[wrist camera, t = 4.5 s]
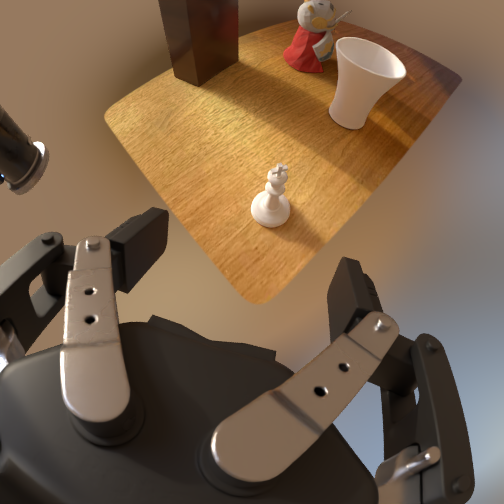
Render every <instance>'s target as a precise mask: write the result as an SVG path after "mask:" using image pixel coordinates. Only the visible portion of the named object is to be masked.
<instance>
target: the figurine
mask: <svg viewBox="0 0 504 504" xmlns="http://www.w3.org/2000/svg"><path fill="white" fill-rule="evenodd" d="M304 1H305V3H304V4H302V5H301V6H300V8H299V10H298V17H297V18H298V21H299V24H300V26H299V28H298V30H297V32H296V34H295V36H294V39H293V42H292V45H291V46H290V47H288V48H286V49H285V51H284V58H285V61H286V62H287V63H288V64H289V65H290V66H292V67H293V68H295V69H297V70H298V71H304V72H310V73H320V72H324V71H323V69H322V66H321V62H322V61H325V60H327V59H329V58H331V55H332V53H333V50H334V42H333V39H332V35H331V31H332V30H333V29H334V34H335V27H336V25H338V24H337V23H338V22H339V21H341V20H342V19H343V18H345V17H346V16H348V15H349V14H350V13H351V11H349V12H347V13H345V14H344V15H342V16H341V17H340V18H338V19H337V20H336V19H335V18H334V16H335V11H336V9H335V7H334V6H333V5H332V3H331V2H330V1H326V0H311V1H309V0H304Z"/></svg>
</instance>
